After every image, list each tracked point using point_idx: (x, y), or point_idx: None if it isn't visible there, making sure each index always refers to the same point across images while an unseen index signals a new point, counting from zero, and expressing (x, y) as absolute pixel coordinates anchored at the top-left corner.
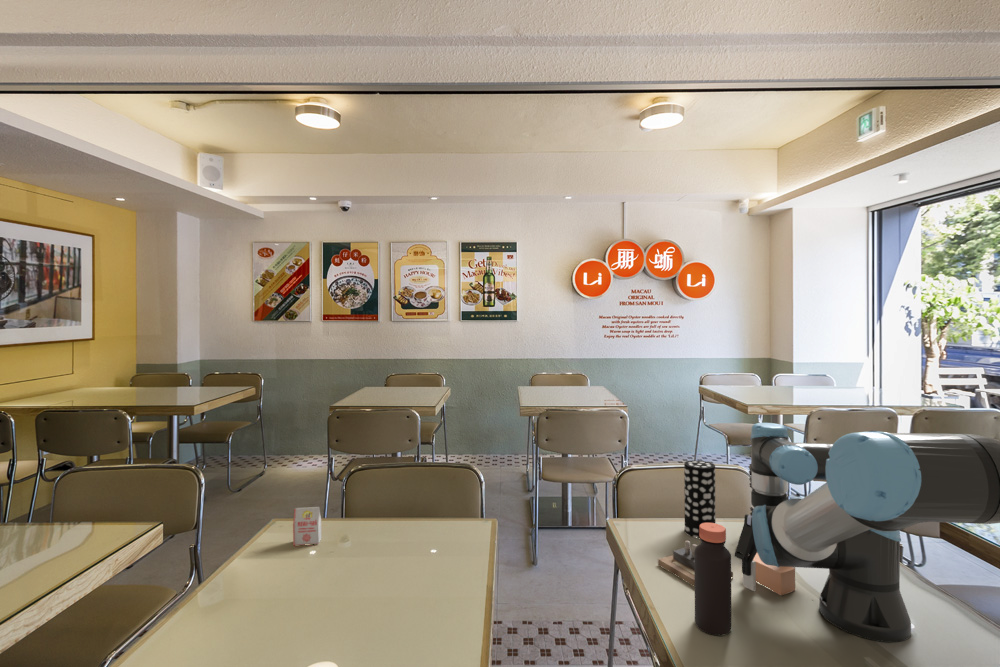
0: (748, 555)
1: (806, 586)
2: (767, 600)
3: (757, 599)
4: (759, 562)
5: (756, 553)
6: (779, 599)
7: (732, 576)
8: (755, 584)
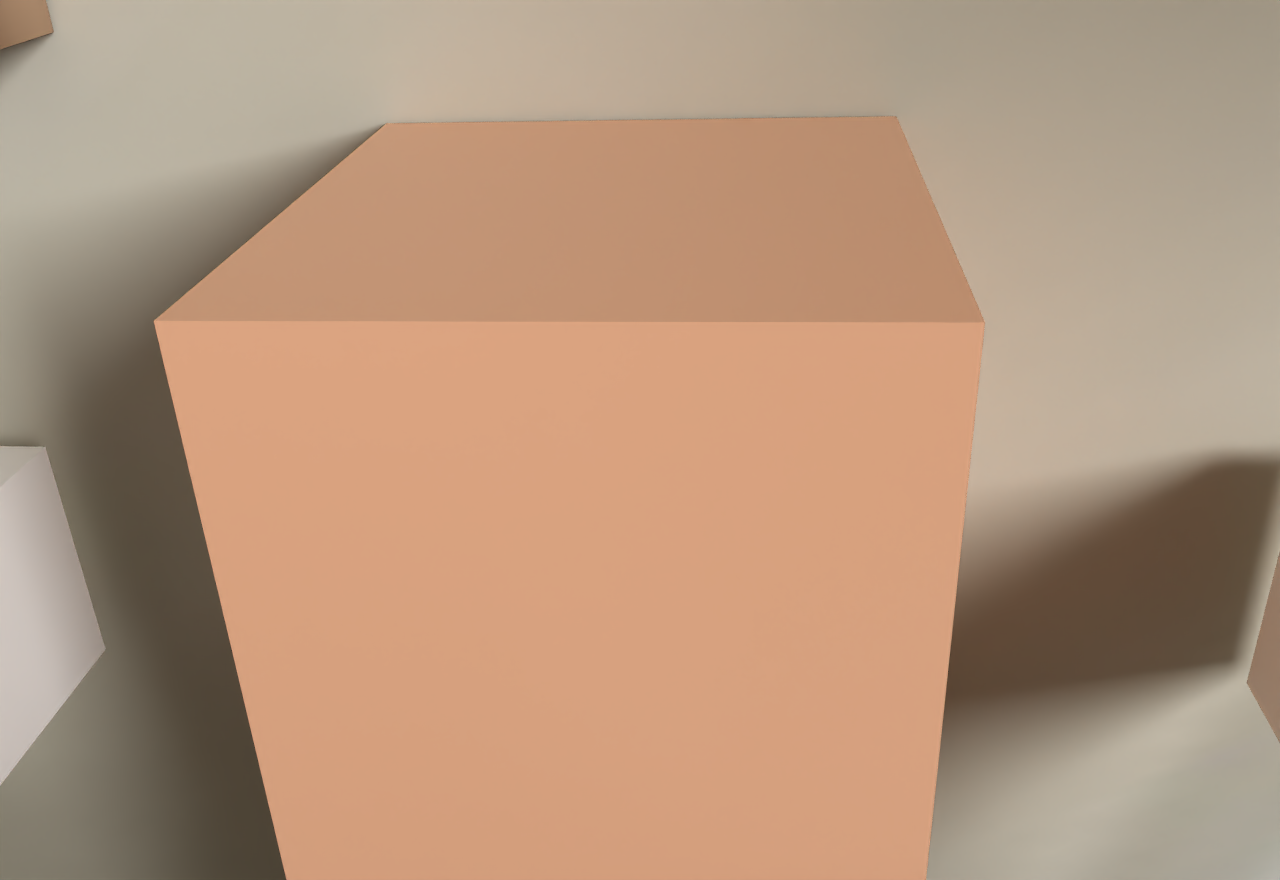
0: (342, 326)
1: (1180, 856)
2: (159, 810)
3: None
4: (302, 784)
5: (794, 350)
6: None
7: (20, 36)
8: (41, 725)
